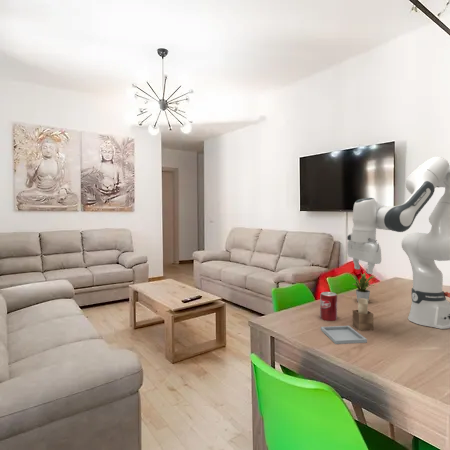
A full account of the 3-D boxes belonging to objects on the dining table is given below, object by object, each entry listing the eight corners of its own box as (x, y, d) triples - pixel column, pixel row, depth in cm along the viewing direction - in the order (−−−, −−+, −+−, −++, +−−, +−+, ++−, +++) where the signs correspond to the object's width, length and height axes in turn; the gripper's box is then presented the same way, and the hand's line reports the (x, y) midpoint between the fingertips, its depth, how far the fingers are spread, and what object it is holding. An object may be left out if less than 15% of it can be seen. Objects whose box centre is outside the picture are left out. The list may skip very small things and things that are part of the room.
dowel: (364, 326, 134) (364, 297, 134) (369, 329, 131) (369, 300, 130) (356, 326, 134) (356, 298, 133) (360, 329, 130) (361, 300, 130)
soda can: (326, 323, 140) (326, 296, 139) (317, 318, 147) (317, 292, 146) (340, 321, 142) (340, 295, 141) (330, 316, 149) (331, 291, 148)
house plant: (384, 306, 163) (384, 275, 162) (356, 306, 163) (357, 275, 162) (372, 299, 177) (372, 269, 176) (346, 299, 178) (347, 269, 177)
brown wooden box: (365, 326, 136) (365, 309, 135) (373, 332, 130) (373, 313, 129) (352, 327, 135) (352, 310, 135) (359, 332, 129) (359, 314, 129)
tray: (348, 330, 132) (348, 325, 132) (366, 344, 118) (367, 339, 118) (320, 331, 131) (320, 326, 131) (335, 346, 117) (335, 340, 117)
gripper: (386, 240, 121) (385, 276, 121) (358, 235, 141) (357, 266, 142) (370, 240, 120) (369, 276, 121) (344, 235, 140) (344, 266, 141)
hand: (363, 271), depth 131 cm, fingers open, 8 cm apart
